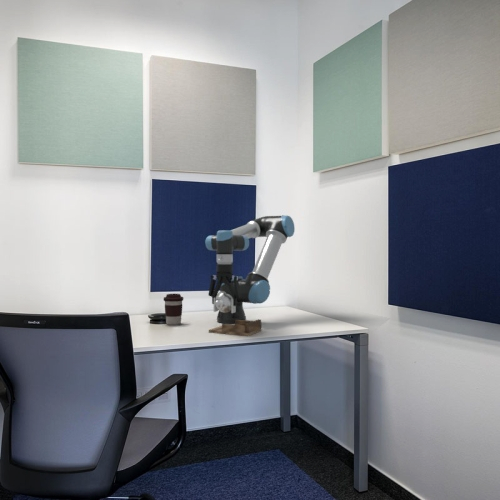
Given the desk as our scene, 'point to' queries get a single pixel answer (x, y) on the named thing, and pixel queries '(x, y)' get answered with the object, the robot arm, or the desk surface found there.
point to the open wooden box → (239, 328)
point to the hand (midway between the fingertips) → (224, 311)
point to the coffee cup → (173, 308)
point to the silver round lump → (223, 302)
